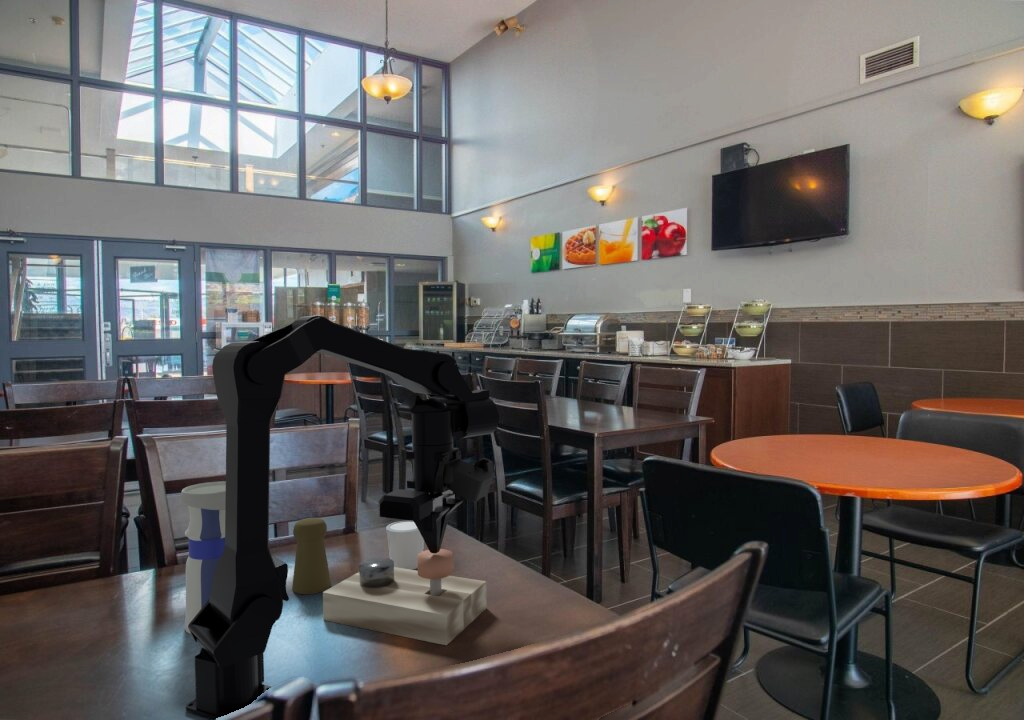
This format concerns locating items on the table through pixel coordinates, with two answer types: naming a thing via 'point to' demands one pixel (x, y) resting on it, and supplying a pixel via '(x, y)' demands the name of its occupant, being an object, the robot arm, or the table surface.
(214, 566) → the water bottle
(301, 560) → the cork
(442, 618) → the plunger block
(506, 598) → the table surface
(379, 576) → the metal plunger
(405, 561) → the shot glass
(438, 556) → the pink mushroom knob
